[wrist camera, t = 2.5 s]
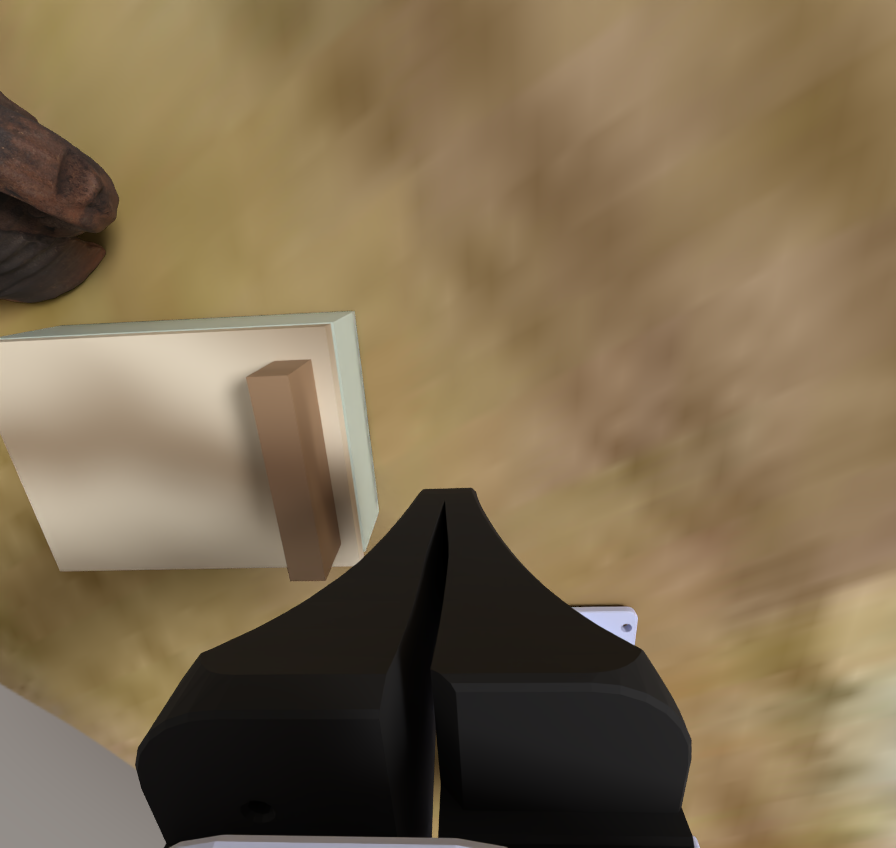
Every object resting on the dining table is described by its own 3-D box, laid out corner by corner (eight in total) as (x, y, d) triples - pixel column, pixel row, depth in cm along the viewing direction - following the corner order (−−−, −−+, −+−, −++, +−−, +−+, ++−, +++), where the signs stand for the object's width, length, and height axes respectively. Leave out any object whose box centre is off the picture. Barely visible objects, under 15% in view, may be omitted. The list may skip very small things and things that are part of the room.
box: (379, 510, 21) (365, 551, 18) (129, 517, 22) (78, 556, 19) (354, 310, 18) (332, 322, 15) (61, 325, 18) (-12, 339, 16)
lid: (363, 556, 18) (347, 604, 15) (72, 561, 18) (13, 608, 16) (330, 323, 15) (303, 338, 12) (-21, 340, 15) (-112, 357, 13)
